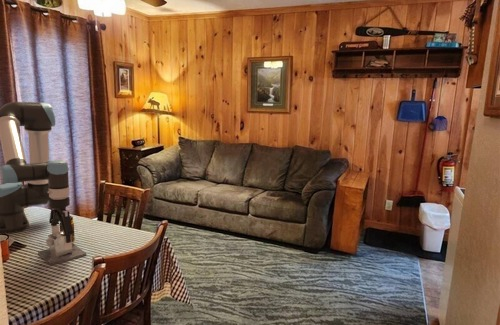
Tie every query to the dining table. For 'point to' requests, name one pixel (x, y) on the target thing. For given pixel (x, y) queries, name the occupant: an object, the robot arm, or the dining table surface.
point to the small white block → (57, 245)
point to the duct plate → (66, 257)
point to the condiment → (73, 230)
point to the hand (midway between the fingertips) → (61, 244)
